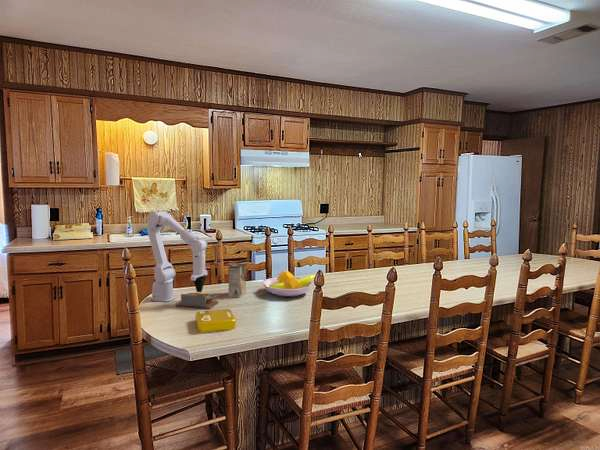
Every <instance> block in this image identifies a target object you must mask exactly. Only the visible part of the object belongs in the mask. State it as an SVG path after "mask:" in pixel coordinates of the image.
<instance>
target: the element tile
mask: <svg viewBox="0 0 600 450" xmlns="http://www.w3.org/2000/svg"><path fill="white" fill-rule="evenodd" d="M195 325H196V329H197V332H198V331H199V332H198V333H200V332H207V333H212V332H211V331H216V332H223V331H222V330H226V331H232V329H233V330H235V329H236V318H235V316H234V314H233V311H232V310H231V309H228V308H225V309H224V308H223V309H214V310H212V309H210V310H202V311H197V312H196V313H195Z"/></svg>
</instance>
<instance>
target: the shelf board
mask: <svg viewBox="0 0 600 450" xmlns="http://www.w3.org/2000/svg"><path fill="white" fill-rule="evenodd" d="M218 304H219V300H214V301H213V302H212V303H210V304H206V307H202V308H201V307H200V308H201V309H200V308H199V307H198V306H196V308H195V306H194V307H193V306H190V307H191V308H190V307H189V306H187V305H186V307H184V305H182V306H183V307H182V306H181V301H179V302H178V303H176V304H175V306H176V307H177V308H187V307H188V309H198V308H199V310H208V311H211V310H212V309H214V308H215V306H216V305H218ZM192 307H193V308H192ZM203 308H204V309H203Z"/></svg>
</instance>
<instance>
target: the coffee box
mask: <svg viewBox="0 0 600 450" xmlns="http://www.w3.org/2000/svg"><path fill="white" fill-rule="evenodd" d="M246 265H247V264H246V263H240V262H239V263H237V262H235V263H232V264H231V265H229V266H228V298H239V299H240V298H242V296H244V295H245V294H246V291H247V289H246V286H247V285H246V284H247V283H246V282H247V281H246V280H247V278H246V276H247V275H246V270H247V269H246V268H247V266H246Z"/></svg>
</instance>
